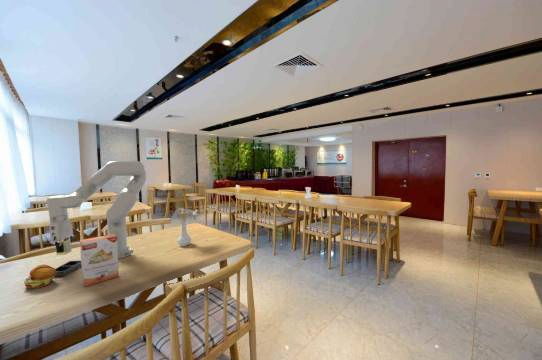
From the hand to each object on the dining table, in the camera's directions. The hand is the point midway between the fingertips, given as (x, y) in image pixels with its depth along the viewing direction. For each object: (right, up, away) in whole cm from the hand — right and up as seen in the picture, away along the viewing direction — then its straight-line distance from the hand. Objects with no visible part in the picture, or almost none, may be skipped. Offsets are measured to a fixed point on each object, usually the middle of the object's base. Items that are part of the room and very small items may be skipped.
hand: (64, 250), depth 132 cm
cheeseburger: (+7, -10, -20) cm, 23 cm away
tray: (+7, -9, -6) cm, 13 cm away
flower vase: (+55, -6, +33) cm, 65 cm away
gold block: (0, -2, 0) cm, 2 cm away
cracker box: (+32, -10, -16) cm, 37 cm away
